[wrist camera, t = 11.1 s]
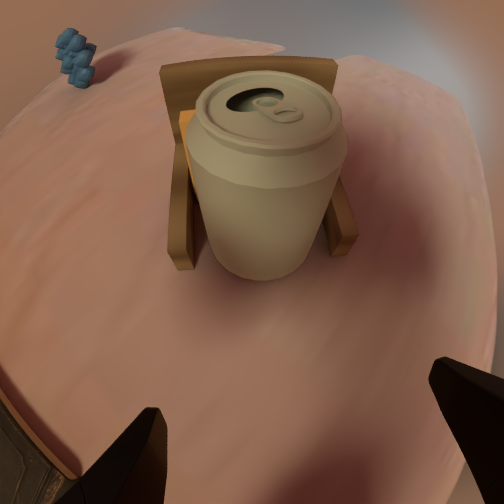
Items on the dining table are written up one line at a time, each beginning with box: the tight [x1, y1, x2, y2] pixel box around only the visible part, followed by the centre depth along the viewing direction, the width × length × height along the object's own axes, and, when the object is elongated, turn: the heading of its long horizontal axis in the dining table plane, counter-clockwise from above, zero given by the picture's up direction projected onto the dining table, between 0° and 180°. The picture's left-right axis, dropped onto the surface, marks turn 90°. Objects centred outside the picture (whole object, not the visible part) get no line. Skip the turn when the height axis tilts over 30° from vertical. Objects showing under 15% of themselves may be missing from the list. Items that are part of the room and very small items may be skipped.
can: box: [186, 70, 348, 281], centre depth 16 cm, size 8×8×12 cm
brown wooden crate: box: [159, 56, 359, 270], centre depth 18 cm, size 11×12×10 cm
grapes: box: [55, 28, 97, 88], centre depth 29 cm, size 12×7×12 cm, turn 53°
